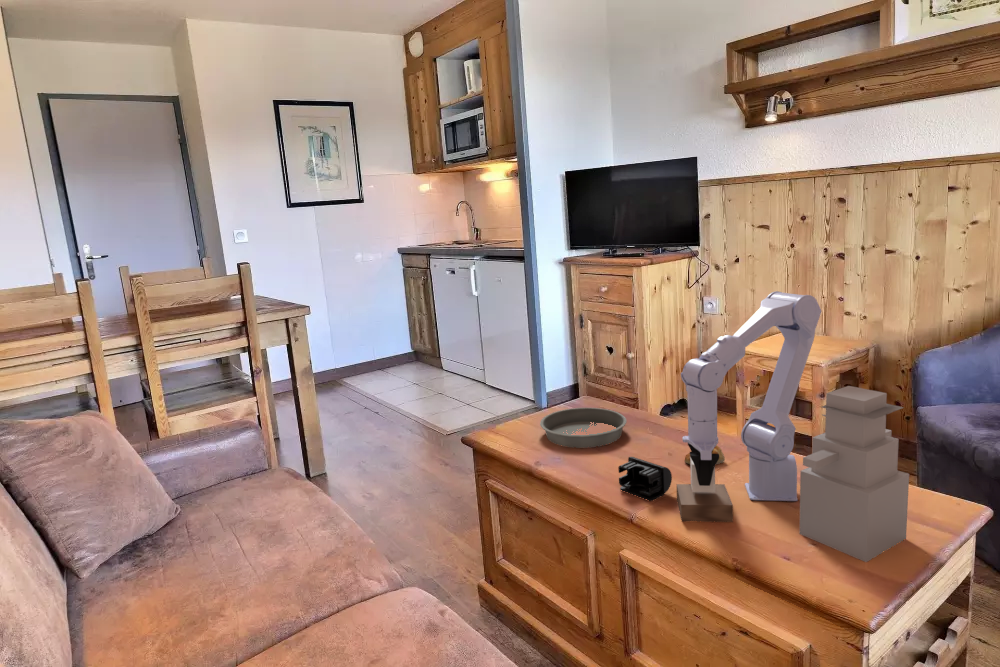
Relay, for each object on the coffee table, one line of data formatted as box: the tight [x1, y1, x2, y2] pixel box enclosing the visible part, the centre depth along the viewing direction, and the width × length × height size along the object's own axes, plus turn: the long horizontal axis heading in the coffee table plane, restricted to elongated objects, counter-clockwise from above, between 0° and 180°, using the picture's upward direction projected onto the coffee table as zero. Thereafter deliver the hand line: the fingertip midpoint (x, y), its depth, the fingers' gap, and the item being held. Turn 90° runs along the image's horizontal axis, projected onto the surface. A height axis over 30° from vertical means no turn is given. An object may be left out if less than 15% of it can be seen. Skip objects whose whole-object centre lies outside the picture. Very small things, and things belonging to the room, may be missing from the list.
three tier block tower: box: [798, 385, 910, 563], centre depth 120 cm, size 13×24×28 cm, turn 121°
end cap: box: [618, 456, 673, 502], centre depth 147 cm, size 10×7×7 cm
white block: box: [689, 457, 716, 492], centre depth 135 cm, size 4×4×6 cm
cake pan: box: [539, 407, 628, 449], centre depth 186 cm, size 25×25×4 cm
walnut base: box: [676, 483, 734, 523], centre depth 136 cm, size 10×10×4 cm
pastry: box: [684, 444, 726, 465], centre depth 161 cm, size 9×7×4 cm
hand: (703, 479), depth 135 cm, fingers closed on white block, 4 cm apart
